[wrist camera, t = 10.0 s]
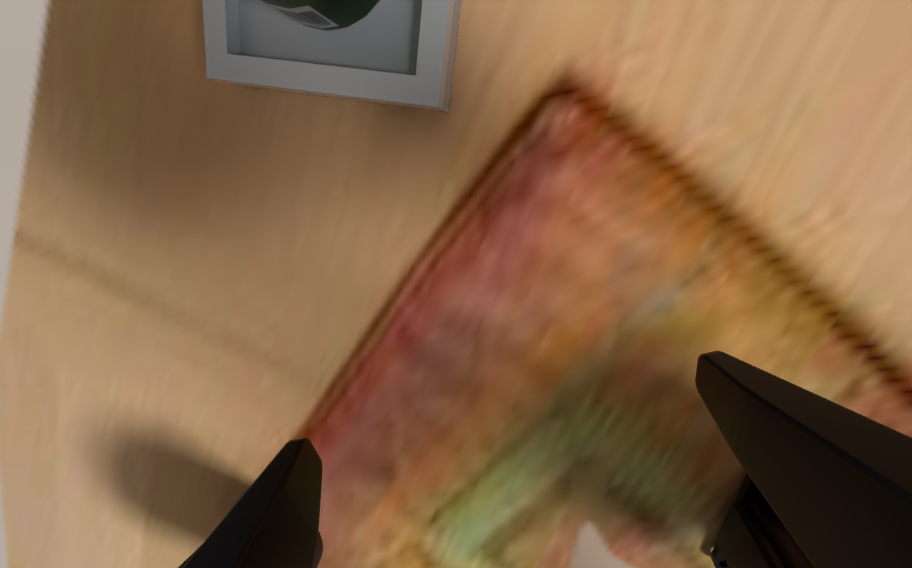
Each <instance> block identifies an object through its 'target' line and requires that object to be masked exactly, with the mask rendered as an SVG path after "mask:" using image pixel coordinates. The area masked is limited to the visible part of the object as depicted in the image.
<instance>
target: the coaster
mask: <svg viewBox="0 0 912 568" xmlns="http://www.w3.org/2000/svg"><path fill="white" fill-rule="evenodd" d="M202 5H203V22H204V40H205V57H206V74H207V78H209V79H213V80H217V81H222V82H226V83H230V84H234V85H238V86H245V87H253V88H261V89H269V90H277V91H285V92H293V93H301V94H308V95H316V96H324V97H332V98H340V99H348V100H356V101H364V102H372V103H379V104H387V105H395V106H403V107H411V108H419V109H427V110H435V111H443V112H449V103H450V94H451V85H452V77H453V68H454V59H455V51H456V42H457V33H458V25H459V16H460V7H461V0H381V1H380V2H379V4H378V5H377V6H376V7H375V8H374V9H373V11H372V12H371V13H370V14H369V15H368V16H366V17H365V18H363V19H361V20H360V21H358V22H356V23H354V24H353V25H351V26H349V27H347V28H342V29H335V30H329V31H325V30H321V29H316V28H312V27H307V26H305V25H303V24H302V23H300V22H298V21H296V20H295V19H293V18H291V17H289V16H288V15H286V14H284V13H282V12H281V11H279V10H277V9H275V8H273V7H272V6H270V5H268V4H266V3H265V2H263V1H261V0H202Z"/></svg>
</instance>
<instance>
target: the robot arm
mask: <svg viewBox="0 0 912 568" xmlns="http://www.w3.org/2000/svg"><path fill="white" fill-rule="evenodd" d="M695 382H696V387H697V390H698V392H699V394H700V396H701V397H702V399H703V401H704V403H705V404H706V406H707V408H708V410H709V411H710V413H711V415H712V417H713V419H714V420H715V422H716V424H717V426H718V427H719V429H720V431H721V433H722V434H723V436H724V438H725V440H726V441H727V443H728V445H729V446H730V448H731V450H732V451H733V453H734V455H735V456H736V458H737V459H738V461H739V462H740V463H741V465H742V466H743V468H744V469H745V471H746V472H747V475H746V478H745V480H744V482H743V484H742V486H741V489H740V491H739V493H738V495H737V498H736V500H735V502H734V503H733V504H732V506H731V508H730V510H729V512H728V515H727V517H726V519H725V521H724V524H723V526H722V528H721V530H720V533H719V535H718V537H717V542H716V545H715V547H714V549H713V551H712V554H711V559H712V561H713V563H714V566H715V567H716V568H912V438H911V437H909V436H907V435H905V434H903V433H900V432H898V431H896V430H894V429H892V428H889V427H887V426H885V425H883V424H881V423H878V422H876V421H874V420H872V419H870V418H867V417H865V416H863V415H861V414H858V413H856V412H854V411H852V410H850V409H847V408H845V407H843V406H841V405H839V404H836V403H834V402H832V401H830V400H828V399H825V398H823V397H821V396H819V395H817V394H814V393H812V392H810V391H808V390H805V389H803V388H801V387H799V386H797V385H794V384H792V383H790V382H788V381H786V380H783V379H781V378H779V377H777V376H775V375H772V374H770V373H768V372H766V371H764V370H761V369H759V368H757V367H755V366H752V365H750V364H748V363H746V362H744V361H741V360H739V359H737V358H735V357H733V356H730V355H728V354H726V353H724V352H721V351H714V352H709V353H704V354H701V355H700V356H699V358H698V363H697V371H696V379H695ZM321 484H322V462H321V459H320V457H319V455H318V453H317V452H316V450H315V448H314V446H313V445H312V443H311V441H310V440H309V439H308V438H306V437H303V438H299V439H294V440H290V441H289V442H287V443H286V444H285V446H284V447H283V448H282V449H281V450H280V452H279V453H278V454H277V455H276V456H275V458H274V459H273V460H272V461H271V462H270V464H269V465H268V466H267V467H266V468H265V470H264V471H263V472H262V473H261V474H260V476H259V477H258V478H257V479H256V480H255V482H254V483H253V484H252V485H251V486H250V488H249V489H248V490H247V491H246V493H245V494H244V495H243V496H242V497H241V499H240V500H239V501H238V502H237V503H236V505H235V506H234V507H233V508H232V509H231V511H230V512H229V513H228V514H227V515H226V517H225V518H224V519H223V520H222V521H221V523H220V524H219V525H218V526H217V527H216V529H215V530H214V531H213V532H212V533H211V535H210V536H209V537H208V538H207V539H206V541H205V542H204V543H203V544H202V545H201V547H200V548H199V549H198V550H197V551H196V553H195V554H194V555H193V556H192V557H191V559H190V560H189V561H188V562H187V563H186V565H185V566H184V567H183V568H313V565H314V559H315V553H316V546H317V539H318V529H319V515H320V500H321ZM722 560H723V561H722Z"/></svg>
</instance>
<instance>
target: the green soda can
mask: <svg viewBox="0 0 912 568" xmlns="http://www.w3.org/2000/svg"><path fill="white" fill-rule="evenodd" d="M261 1H263V2H265V3H266V4H268V5H270V6H272V7H273V8H275V9H277V10H279V11H281V12H282V13H284V14H286V15H288V16H289V17H291V18H293V19H295V20H296V21H298V22H300V23H302V24H303V25H305V26H307V27H312V28H316V29H321V30H325V31H329V30H335V29H342V28H347V27H349V26H351V25H353V24H354V23H356V22H358V21H360V20H361V19H363V18H365V17H366V16H368V15H369V14H370V13H371V12H372V11H373V9H374V8H375V7H376V6H377V5H378V4H379V2H380V1H381V0H261Z"/></svg>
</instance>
